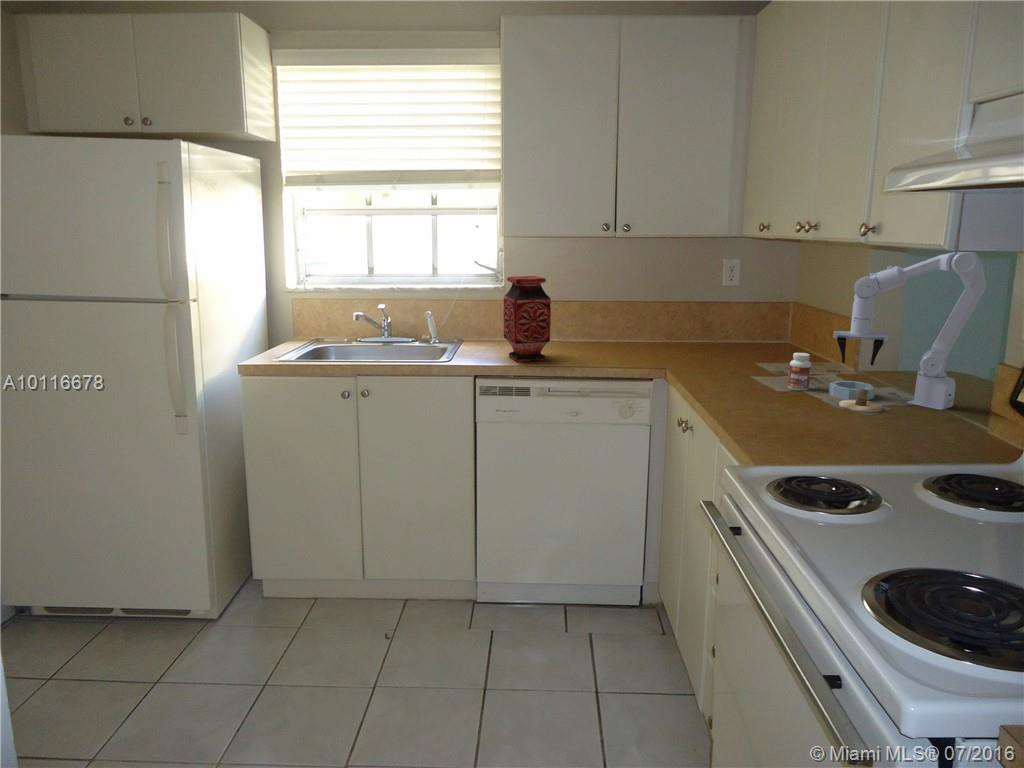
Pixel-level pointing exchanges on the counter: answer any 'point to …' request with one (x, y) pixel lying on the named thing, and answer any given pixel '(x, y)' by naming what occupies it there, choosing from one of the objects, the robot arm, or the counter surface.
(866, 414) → the mat
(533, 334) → the vase
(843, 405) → the lid
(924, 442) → the counter surface
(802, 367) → the pill bottle
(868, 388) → the bowl
